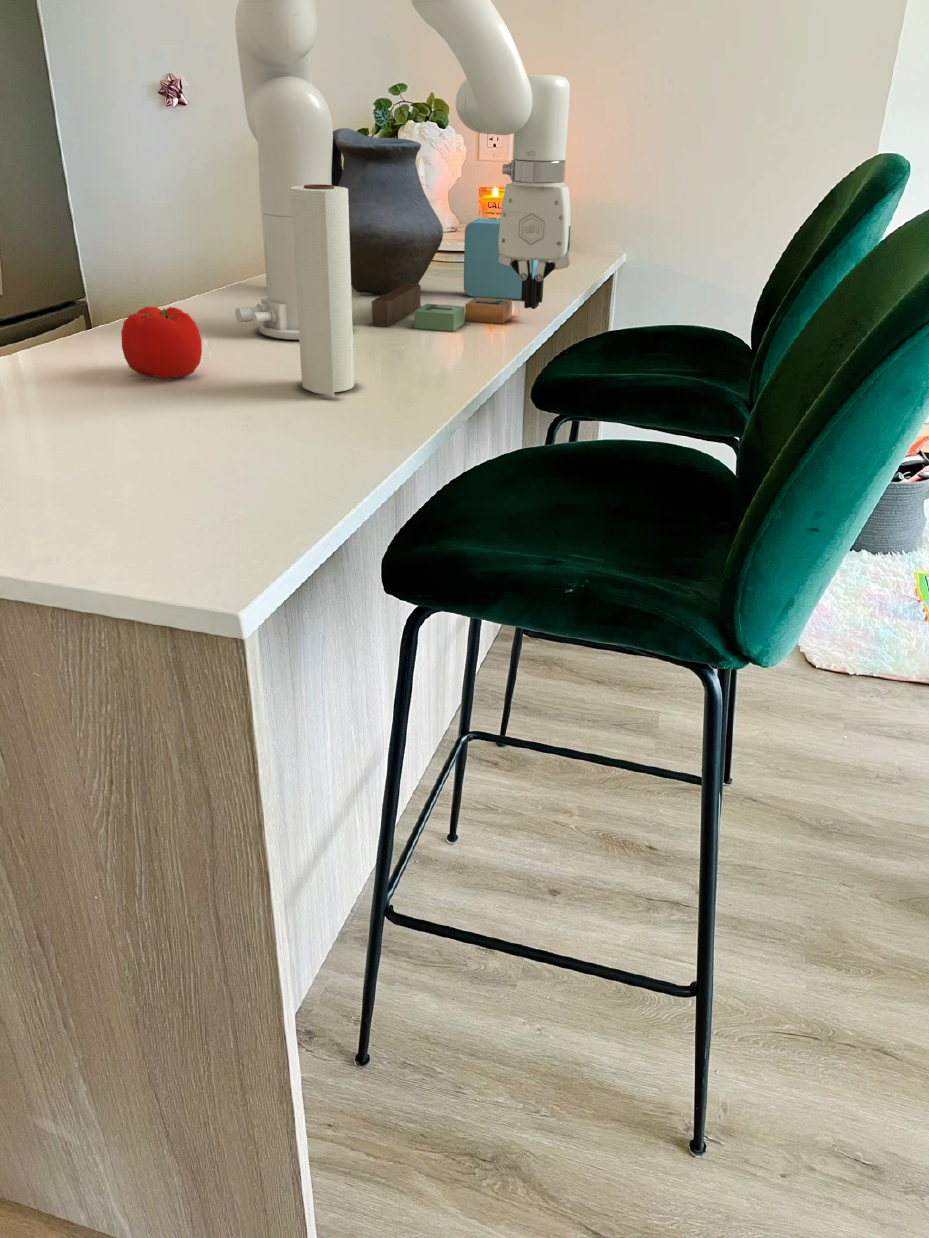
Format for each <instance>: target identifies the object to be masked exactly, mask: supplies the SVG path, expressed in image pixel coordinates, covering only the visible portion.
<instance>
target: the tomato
mask: <svg viewBox="0 0 929 1238" xmlns="http://www.w3.org/2000/svg"><path fill="white" fill-rule="evenodd" d="M120 332H121V336H120V337H121V349H122V354H123V357H124V359H125V361H126V363H127V365H128V366H129V368H130V369H131V370H132V371H134V373H137V374H140V375H142V376H146V377H156V378H159V379H161V380H169V379H172V378H180V379H181V378H182V379H183V378H185V377H188V376H190V375H192V374H193V373H194V372H195V370H196V369H197V368H198V367H199V365H200V363H201V359H202V353H203V350H202V349H203V343H202V337H201V332H200V330H199V327H198V325H197V323H196V321H195V320H194V319H193V318H192V317H191V315H189V313H187V312H184V311H183V310H182V309H180V308H177V307H172V306H169V307H167V308H163V309H160V308H159V307H157V306H144V307H143V308H141V309H139V310H138V311H137V312H135V313H133V314H129V315H128V317H127V318H126V319H125V320H124V321H123V324H122V328H121V331H120Z"/></svg>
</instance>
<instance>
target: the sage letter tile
mask: <svg viewBox="0 0 929 1238" xmlns="http://www.w3.org/2000/svg"><path fill="white" fill-rule="evenodd" d="M464 324H465V305H451V304H439V303H438V304H436V303H425V304H424V305H421V307H420V308H418V309H416V310H415V311H414V329H422V330H432V331H442V332H443V331H444V332H455V331H456V330H458V329H459V328H460V327H462V326H463V325H464Z"/></svg>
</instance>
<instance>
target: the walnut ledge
mask: <svg viewBox="0 0 929 1238" xmlns="http://www.w3.org/2000/svg"><path fill="white" fill-rule="evenodd" d="M421 287H422V286H421V284H420V283H419V284H405V285H403V286H401V287H399V288H397V289H395V290H393V291H391V292H389V293H387V294H385V295H380V296H379V297H377V298H375V299H373V300H371V319H372V326H373V327H374V326H375V327H389V326H391V325H394V324H395V323H396V322H398V321H400V320H401V319H403V318H405V317H407V316H408V315H411V314H412V313H413V312H415V310H417V309H419V308H420V307H422V305H421V303H422V302H421V301H422V300H421V298H422V296H421V293H422V291H421V289H422V288H421Z"/></svg>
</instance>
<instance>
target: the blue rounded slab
mask: <svg viewBox="0 0 929 1238" xmlns="http://www.w3.org/2000/svg"><path fill="white" fill-rule="evenodd" d="M499 228H500V219H492V218H490V219H489V218H476V219H474V220H472V221H470V222H468V223H467V225H466V226H465V229H464V247H463V248H464V249H463V290H464V292H465V294H466V295H468V296H469V297H472V298H475V297H480V298H494V299H507V300H516V301H517V300H518V301H521V293H522V280H521V279H520V276H519V275H518V274H517V273H516V271H515V270H514V269H513V268H512V267H509V266H506V265H503V264H500V263H499V262H498V258H499V254H500V253H499V250H498V239H499ZM537 264H538V260H530V265H531V274H532V278H533V279H534V276H535V274H536V269H537Z"/></svg>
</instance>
